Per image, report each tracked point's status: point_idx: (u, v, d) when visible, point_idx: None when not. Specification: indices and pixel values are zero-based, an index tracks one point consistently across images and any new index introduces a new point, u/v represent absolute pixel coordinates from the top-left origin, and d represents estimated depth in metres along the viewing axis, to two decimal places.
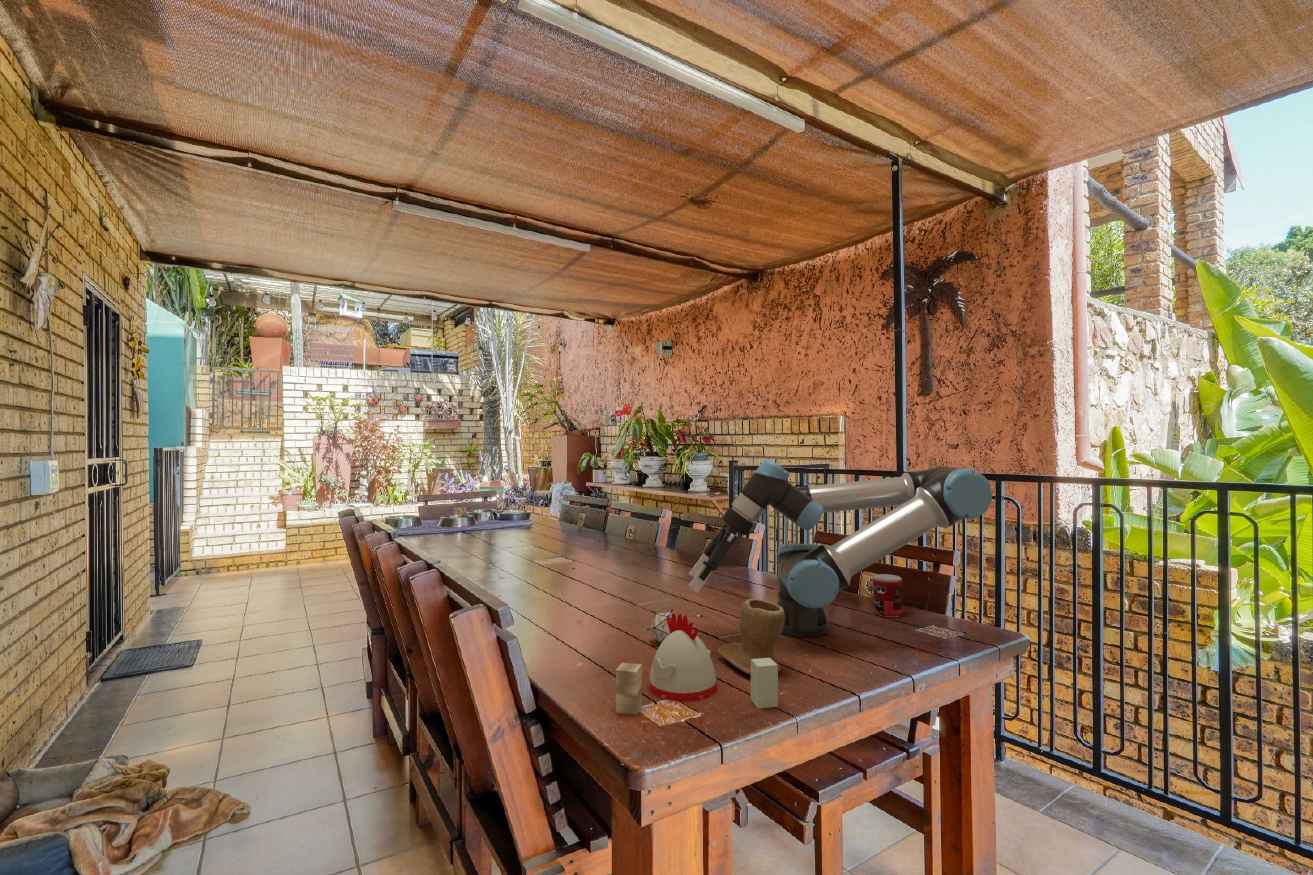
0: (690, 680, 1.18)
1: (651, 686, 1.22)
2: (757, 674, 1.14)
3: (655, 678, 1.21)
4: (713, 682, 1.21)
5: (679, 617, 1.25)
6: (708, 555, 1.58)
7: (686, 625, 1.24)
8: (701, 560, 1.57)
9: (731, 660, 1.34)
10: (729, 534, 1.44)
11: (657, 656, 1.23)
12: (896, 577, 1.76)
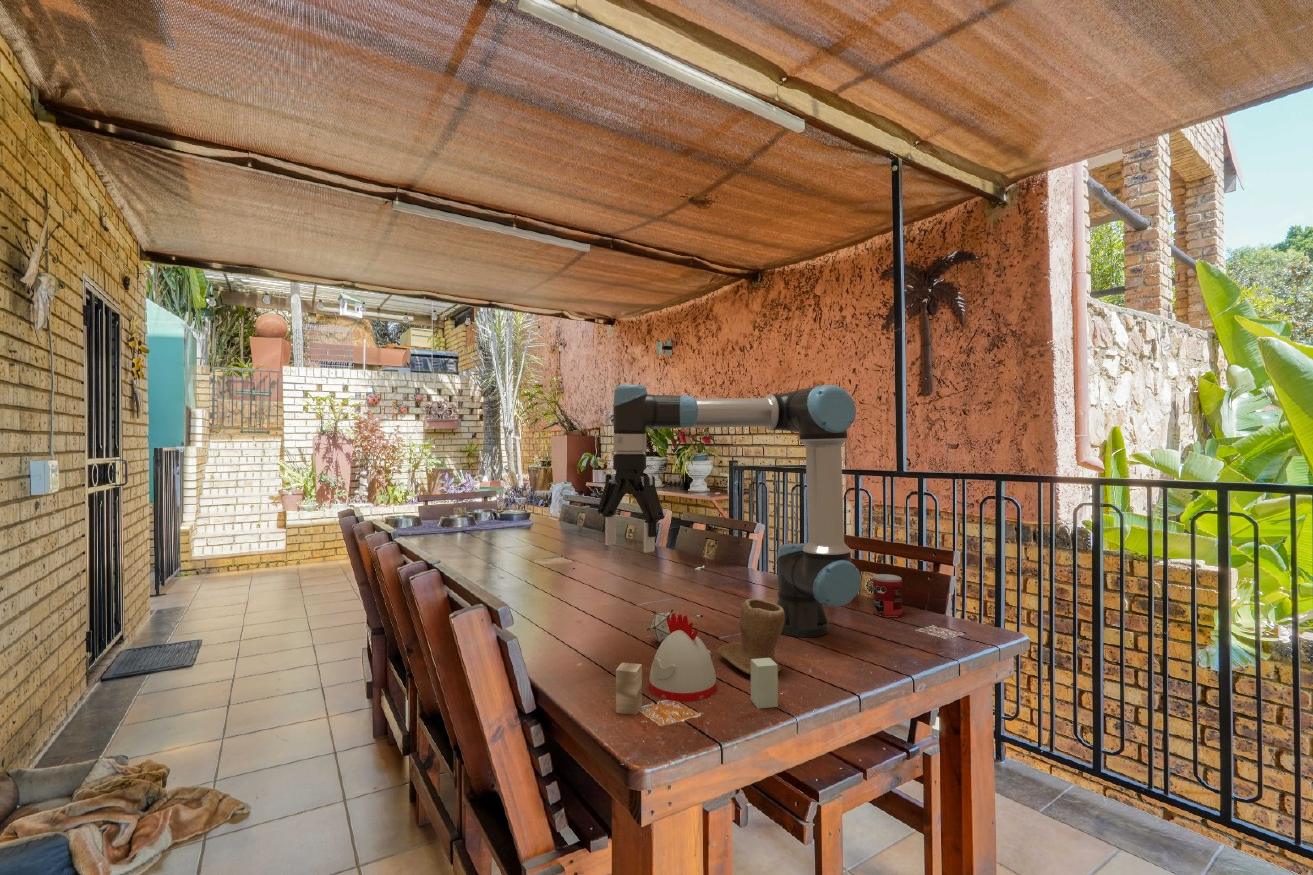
0: (690, 680, 1.18)
1: (651, 686, 1.22)
2: (757, 674, 1.14)
3: (655, 678, 1.21)
4: (713, 682, 1.21)
5: (679, 617, 1.25)
6: (610, 515, 1.41)
7: (686, 625, 1.24)
8: (609, 524, 1.40)
9: (731, 660, 1.34)
10: (648, 478, 1.31)
11: (657, 656, 1.23)
12: (896, 577, 1.76)
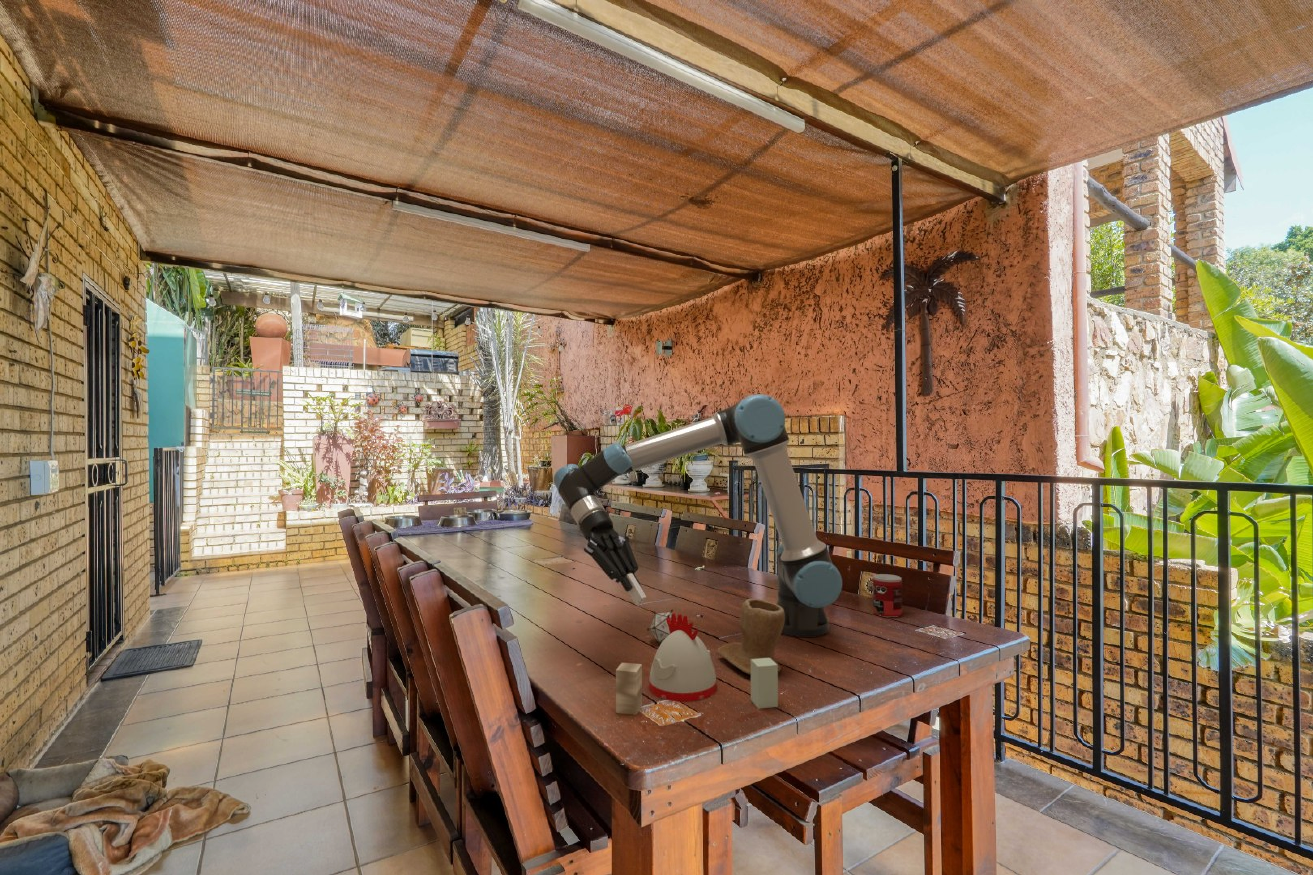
0: (690, 680, 1.18)
1: (651, 686, 1.22)
2: (757, 674, 1.14)
3: (655, 678, 1.21)
4: (713, 682, 1.21)
5: (679, 617, 1.25)
6: None
7: (686, 625, 1.24)
8: None
9: (731, 660, 1.34)
10: (586, 549, 1.36)
11: (657, 656, 1.23)
12: (896, 577, 1.76)
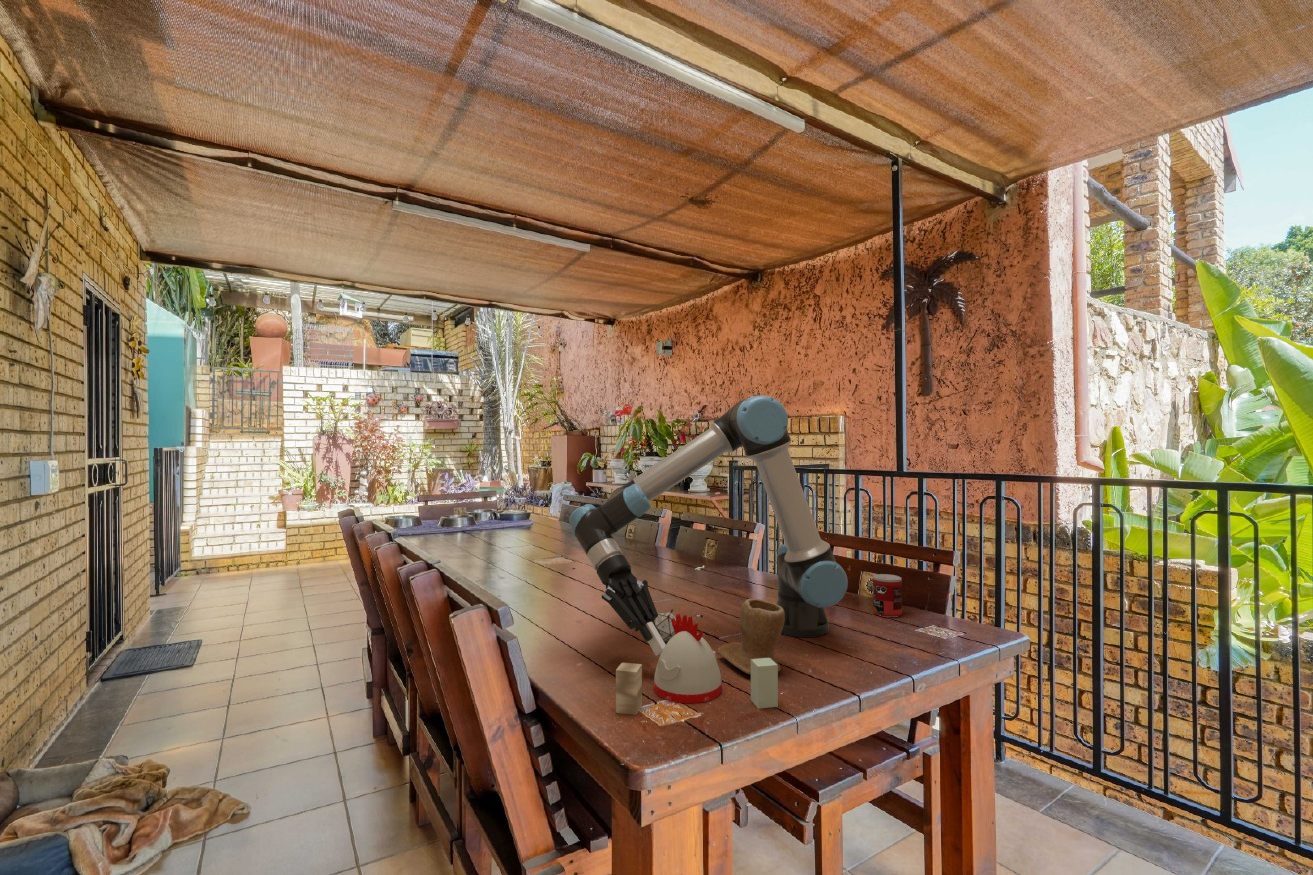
0: (695, 682, 1.17)
1: (656, 687, 1.21)
2: (757, 674, 1.14)
3: (660, 679, 1.20)
4: (718, 684, 1.20)
5: (684, 618, 1.24)
6: (647, 623, 1.32)
7: (691, 626, 1.23)
8: None
9: (731, 660, 1.34)
10: (603, 597, 1.32)
11: (662, 657, 1.22)
12: (896, 577, 1.76)
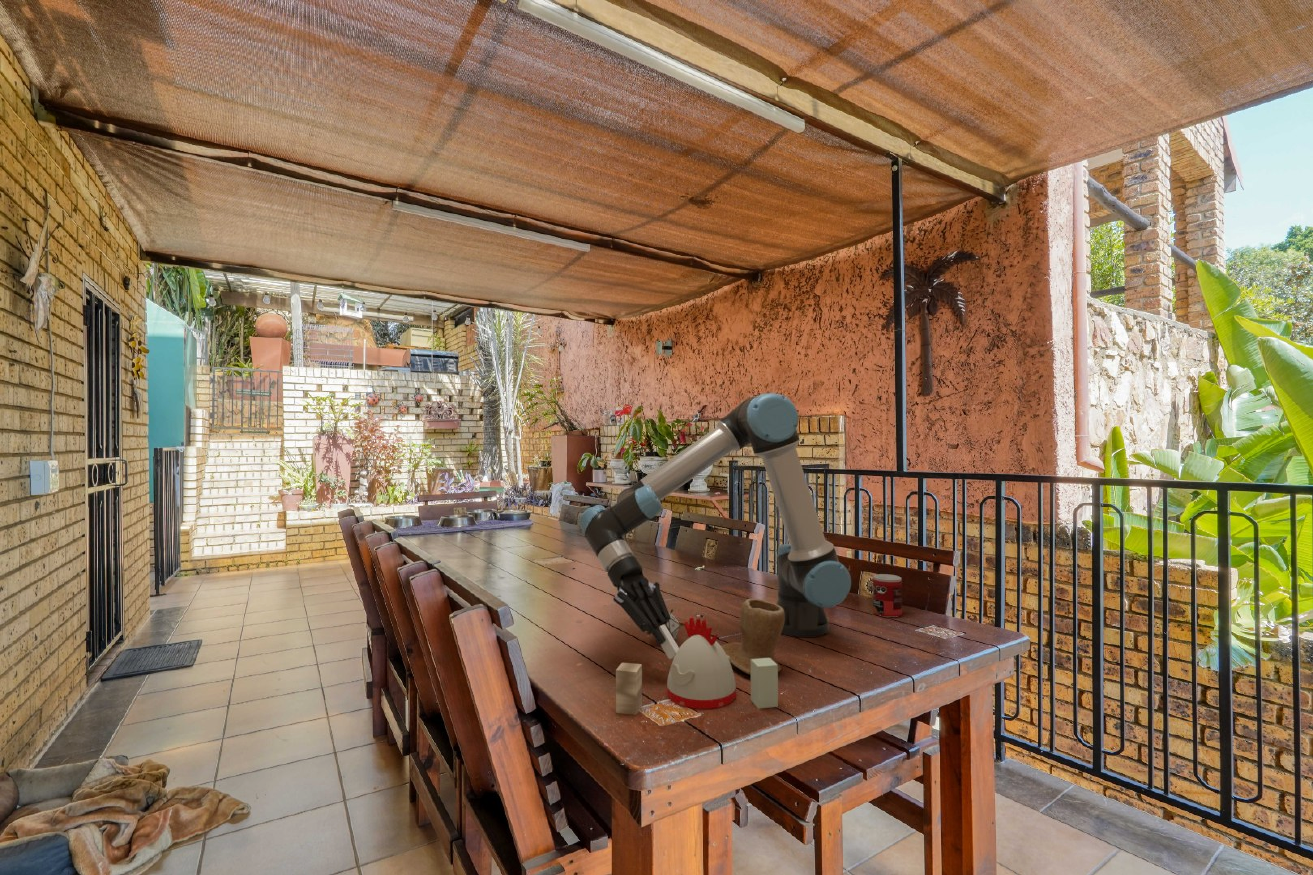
0: (709, 687, 1.15)
1: (669, 692, 1.19)
2: (757, 674, 1.14)
3: (673, 684, 1.17)
4: (733, 689, 1.18)
5: (698, 621, 1.21)
6: (660, 626, 1.30)
7: (705, 630, 1.20)
8: None
9: (731, 660, 1.34)
10: (615, 599, 1.30)
11: (675, 661, 1.19)
12: (896, 577, 1.76)
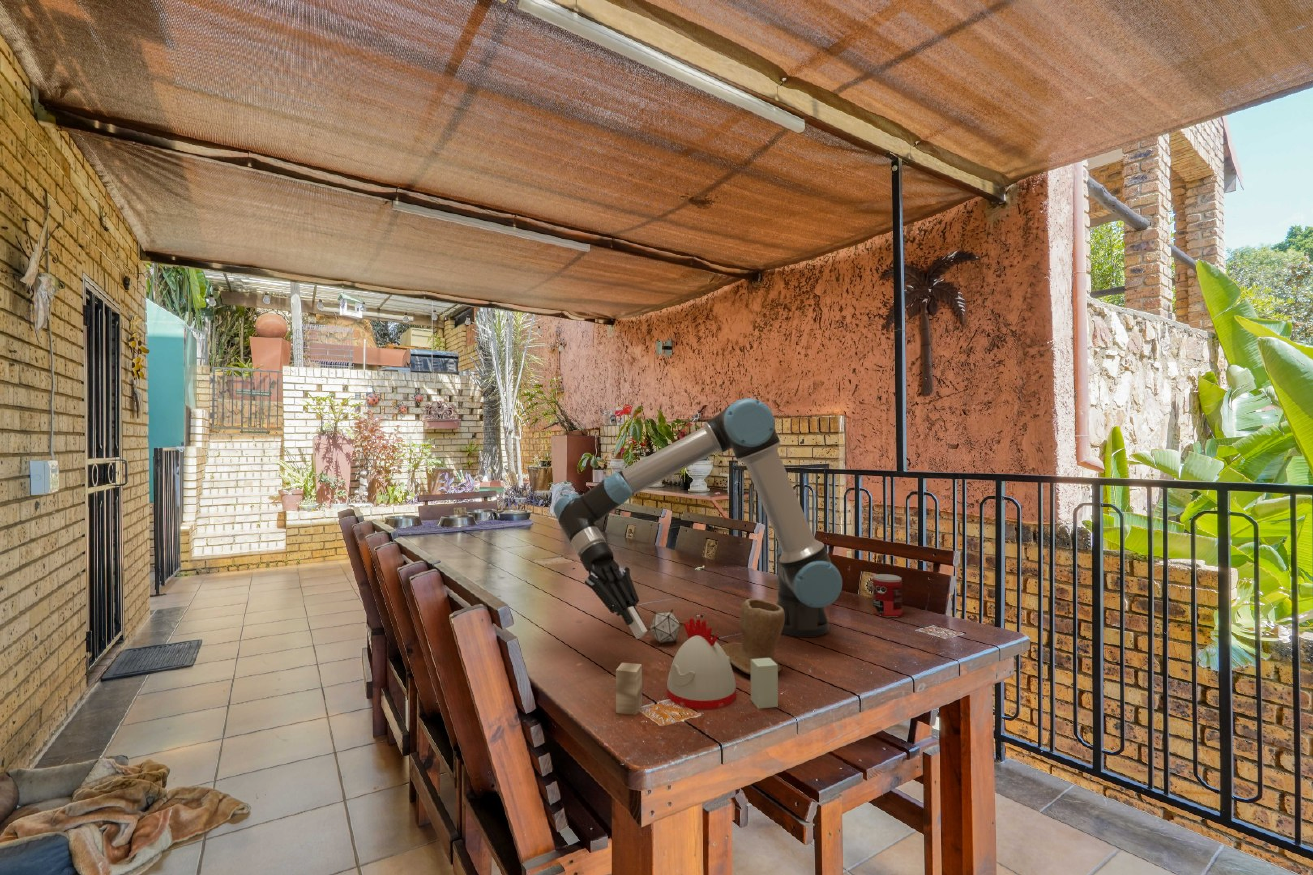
0: (709, 687, 1.15)
1: (669, 693, 1.19)
2: (757, 674, 1.14)
3: (673, 685, 1.17)
4: (733, 689, 1.18)
5: (697, 622, 1.21)
6: None
7: (705, 630, 1.20)
8: None
9: (731, 660, 1.34)
10: (586, 582, 1.36)
11: (675, 662, 1.19)
12: (896, 577, 1.76)
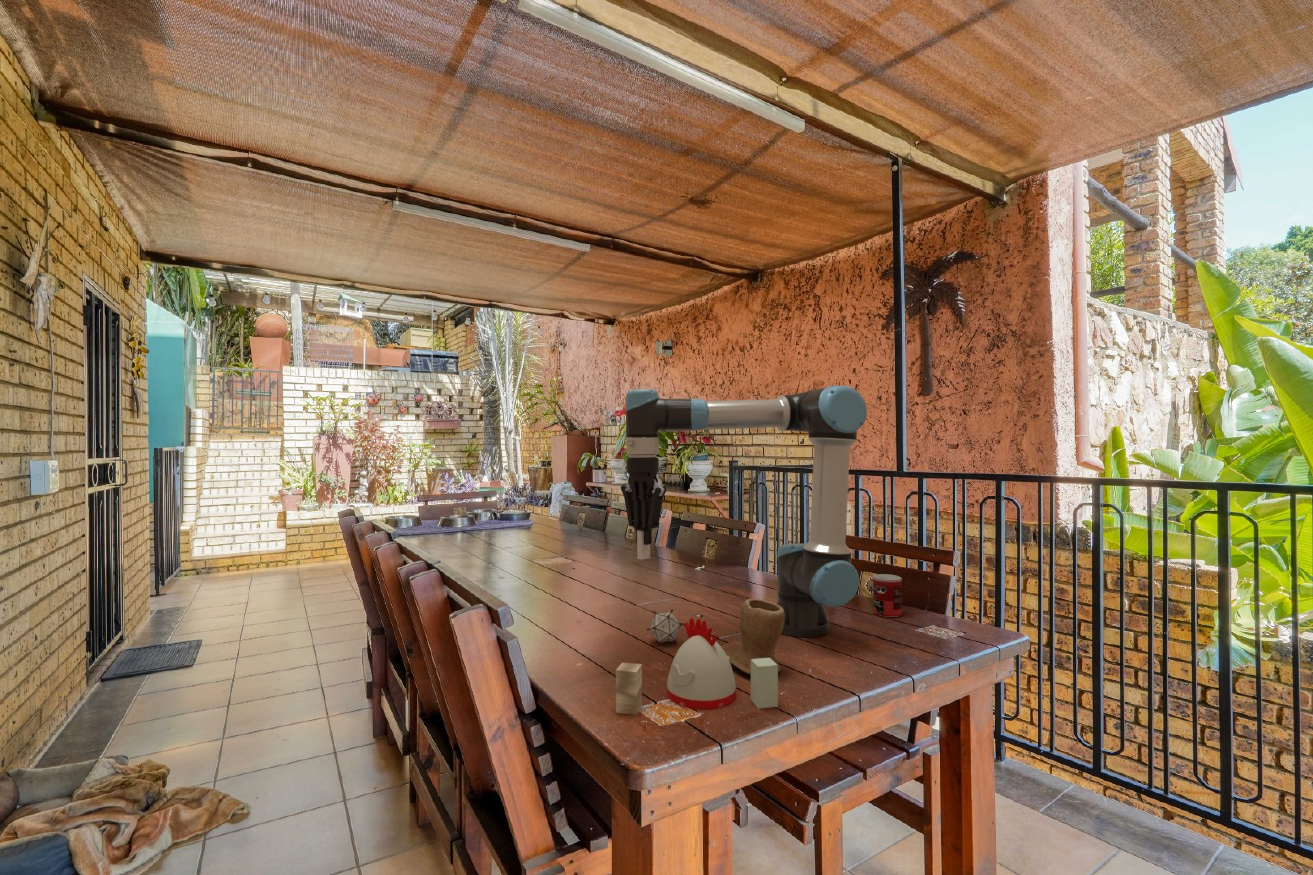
0: (709, 687, 1.15)
1: (669, 693, 1.19)
2: (757, 674, 1.14)
3: (673, 685, 1.17)
4: (733, 689, 1.18)
5: (698, 622, 1.21)
6: (641, 528, 1.39)
7: (705, 630, 1.20)
8: None
9: (731, 660, 1.34)
10: (660, 491, 1.34)
11: (675, 662, 1.19)
12: (896, 577, 1.76)
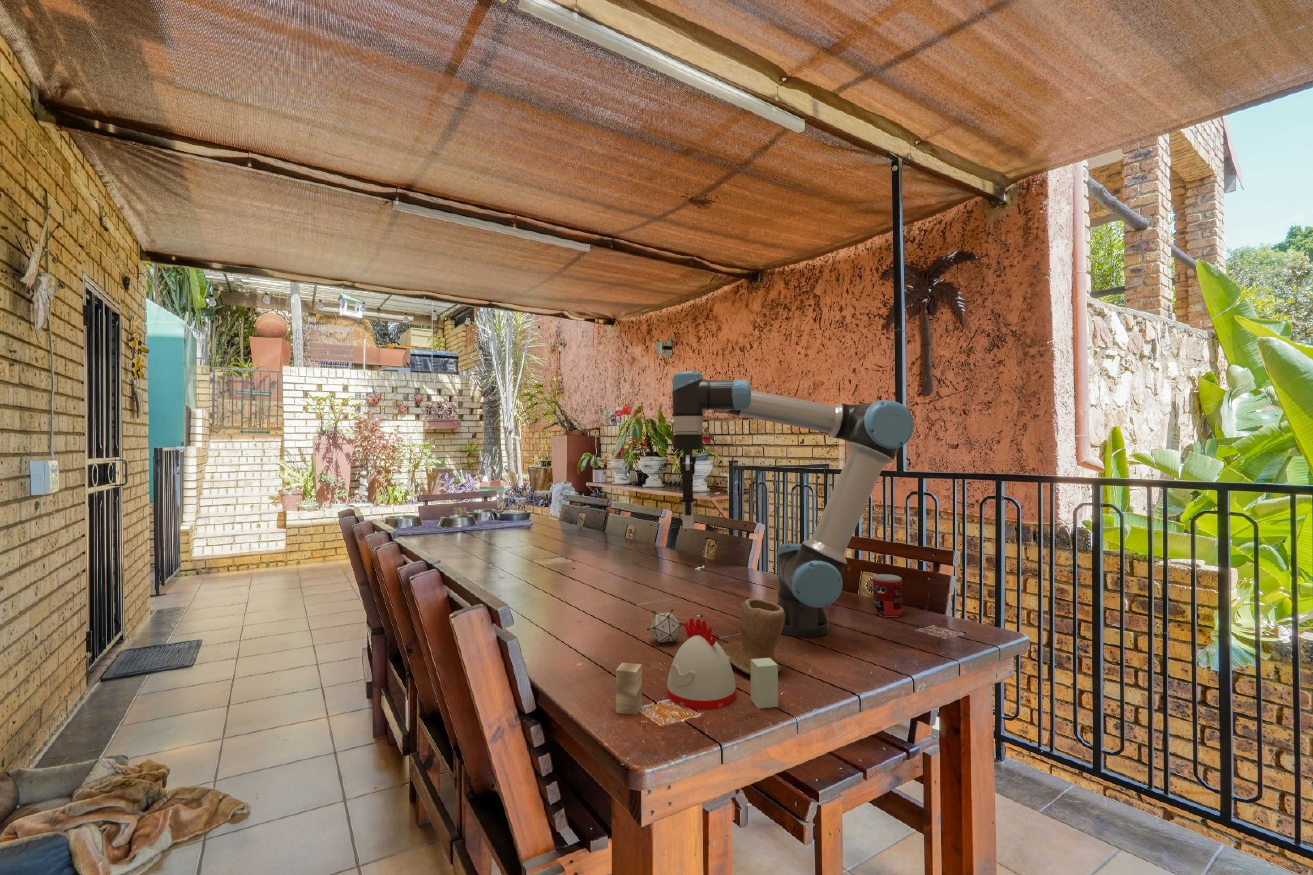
0: (709, 687, 1.15)
1: (669, 693, 1.19)
2: (757, 674, 1.14)
3: (673, 685, 1.17)
4: (733, 689, 1.18)
5: (697, 622, 1.21)
6: None
7: (705, 630, 1.20)
8: None
9: (731, 660, 1.34)
10: (684, 465, 1.43)
11: (675, 662, 1.19)
12: (896, 577, 1.76)
